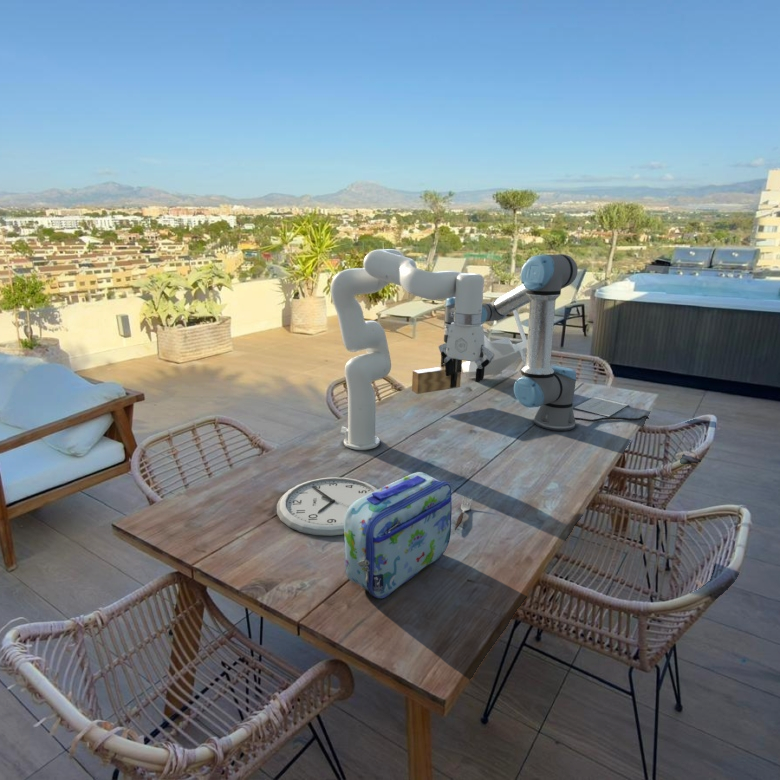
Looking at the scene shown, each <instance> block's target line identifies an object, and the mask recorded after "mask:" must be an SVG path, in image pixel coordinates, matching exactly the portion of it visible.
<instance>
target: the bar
mask: <svg viewBox="0 0 780 780" xmlns="http://www.w3.org/2000/svg"><path fill="white" fill-rule="evenodd" d="M445 367H446V366H444V367H441V366H437V367H430V368H423V369H414V370H412V377H411V378H412V379H411V392H413V393H415V394H417V395H420V394H427V393H432V392H440V391H445V390H452V389H457V388H460V387H461V377H462V371H461V372H460V373H458V376H457V385H456V387H452V388H451V387H450V384H451V375H450V376H446V372H445Z"/></svg>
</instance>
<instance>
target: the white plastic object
mask: <svg viewBox="0 0 780 780" xmlns="http://www.w3.org/2000/svg"><path fill="white" fill-rule="evenodd" d="M512 314H513V316H514V319H515V322H516V325H517V328H518V331H519V334H520V338H521V341H520V342H517V343H513V342H512V341H511V339H510V338H509V337H505V338H500V339H495V340H490V339H489V338H488V337H487V336H486V334H484V347H485V348H487V349H488V350H489V351H491V352H492V353H493V354H494V357H493V359H492V360H491V363H489V364H488V365H487V366H486V367H485V369H484V377H485V376H493V377H495V376H498V375H502V374H503V371H504V370H505V369H507V368H509V367H510V366H511V365H512V364H515V362H517V361H518V360H520V359H521V361H522V364H523V367H524V366H525V365H526V357H527V342H528V338H527V337H526V334H525V331H524V327H523V325H522V322H521V318H520V315H519V313H518V311H517V309H516V310H514V311H512ZM486 358H487V356H486V355H485V354H484V356H483V360H484V361H485V360H486ZM477 368H478V366H477V365H476V363H475V361H474V362H470V361H463V362H462V369H461V371H462V373H463V374H464V376H465V377H466V378H476V369H477Z"/></svg>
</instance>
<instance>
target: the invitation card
mask: <svg viewBox="0 0 780 780" xmlns="http://www.w3.org/2000/svg"><path fill="white" fill-rule="evenodd" d="M628 406H629V404H627V403H623V402H618V401H614V400H609V399H605V398H601V397H596V396H593V397H592V398H590V399H588V400H586V401H584V402H582V403H580V404H578V405H575V406H574V407H573V409H575V410H581V411H584V412H587V413H593V414H596V415H600V416H604V417H612V416H613V415H614V414H616V413H617V412H619V411H621V410H623V409H624V408H626V407H628Z"/></svg>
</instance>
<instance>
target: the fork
mask: <svg viewBox="0 0 780 780" xmlns="http://www.w3.org/2000/svg"><path fill="white" fill-rule="evenodd" d="M465 497H466V495H464V496H463V499H462V502H461V505H460V510H461V511H462V512H461V513H460V514H459V516H458V517H457V520H456V524H455V527H454V531H457V529H458V527H459V526H460V524H461V523H462V521H463V518H464V515H465V514H464V513H465V512H467V511H470V510H471V508H472V501H473V498H471V496H468V497H466V498H465ZM470 498H471V499H470ZM467 499H468V500H467Z"/></svg>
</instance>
